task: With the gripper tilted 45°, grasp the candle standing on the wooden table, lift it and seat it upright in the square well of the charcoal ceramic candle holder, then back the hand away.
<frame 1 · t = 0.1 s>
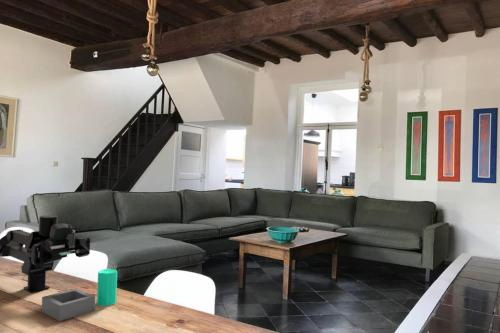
hand: (75, 254, 124), 17 cm above the table, tool horizontal, fingers open, 9 cm apart
holder: (68, 311, 120), on the table
candle: (106, 303, 128), on the table
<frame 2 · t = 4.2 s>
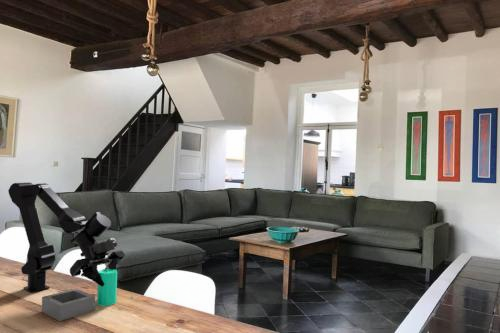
hand: (110, 283, 127), 7 cm above the table, tool tilted 45°, fingers closed on candle, 5 cm apart
candle: (106, 303, 128), on the table, touching gripper
when the fingers open (8 cm above the table, at t = 8.2 s): candle stays where it is, resting on holder.
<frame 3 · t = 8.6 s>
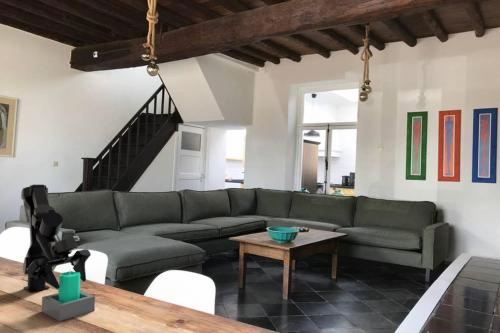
hand: (72, 284, 119), 9 cm above the table, tool tilted 45°, fingers open, 9 cm apart
candle: (68, 308, 120), point 1 cm above the table, touching holder
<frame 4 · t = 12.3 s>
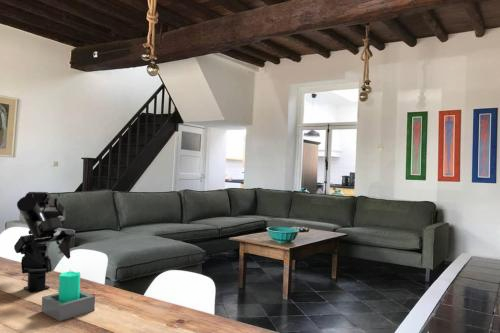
hand: (56, 260, 127), 14 cm above the table, tool tilted 45°, fingers open, 9 cm apart
nothing on the table moved.
at the end: candle 0.4 cm off-centre on the holder, point 0.8 cm above the holder's base; candle tilted 0°; the gripper is holding nothing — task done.
